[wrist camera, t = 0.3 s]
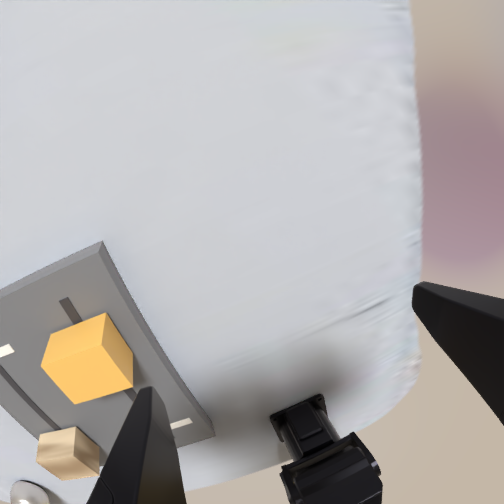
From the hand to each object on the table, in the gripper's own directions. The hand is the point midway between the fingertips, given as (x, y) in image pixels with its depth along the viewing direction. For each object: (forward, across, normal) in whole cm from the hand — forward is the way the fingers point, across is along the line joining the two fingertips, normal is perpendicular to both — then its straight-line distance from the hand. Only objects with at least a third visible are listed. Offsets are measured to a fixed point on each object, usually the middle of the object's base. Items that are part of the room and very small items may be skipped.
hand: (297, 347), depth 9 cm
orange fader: (+12, +11, +6) cm, 18 cm away
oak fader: (+12, +21, +16) cm, 29 cm away
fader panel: (+14, +16, +11) cm, 24 cm away
